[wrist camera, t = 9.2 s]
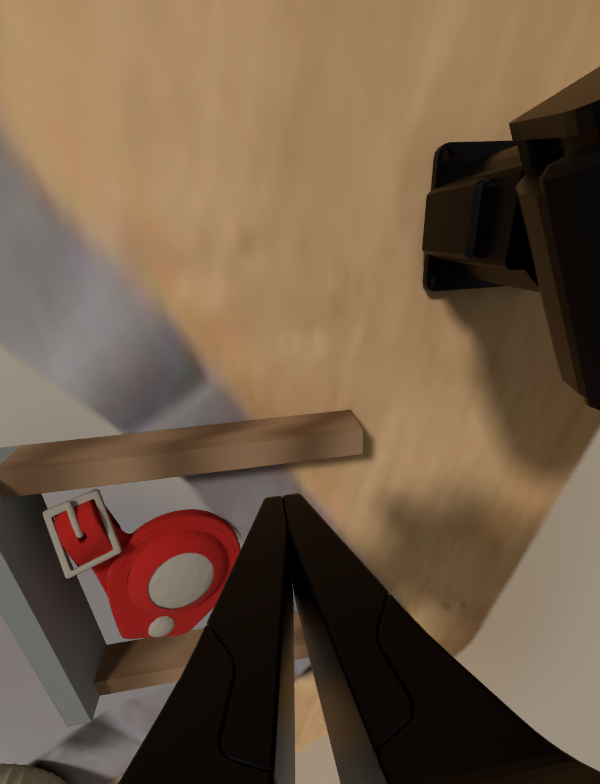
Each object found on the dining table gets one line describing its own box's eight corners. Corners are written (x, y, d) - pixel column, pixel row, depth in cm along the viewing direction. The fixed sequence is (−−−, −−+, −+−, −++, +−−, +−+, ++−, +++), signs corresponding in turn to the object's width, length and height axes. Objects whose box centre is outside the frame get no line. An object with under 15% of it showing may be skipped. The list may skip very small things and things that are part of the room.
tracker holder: (266, 524, 23) (217, 657, 24) (245, 491, 27) (203, 607, 28) (43, 506, 17) (-11, 685, 18) (57, 466, 21) (11, 616, 22)
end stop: (20, 445, 20) (-31, 493, 16) (111, 657, 27) (91, 722, 24) (-10, 448, 19) (-68, 498, 16) (91, 660, 27) (67, 726, 24)
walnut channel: (350, 409, 22) (363, 430, 19) (348, 616, 29) (356, 648, 27) (20, 445, 20) (-10, 473, 17) (111, 657, 27) (99, 695, 25)
